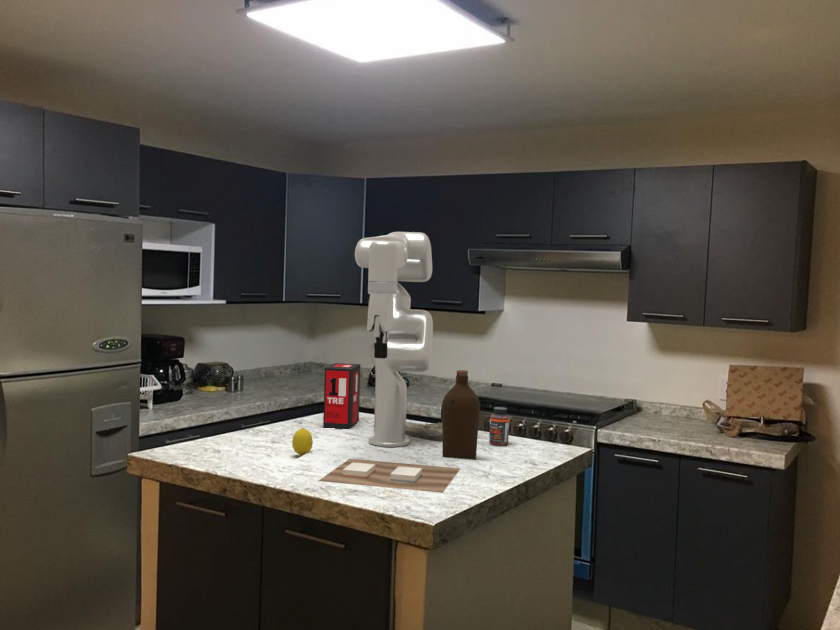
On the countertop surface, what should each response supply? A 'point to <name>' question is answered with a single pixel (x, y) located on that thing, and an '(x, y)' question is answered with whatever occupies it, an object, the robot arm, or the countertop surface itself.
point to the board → (428, 481)
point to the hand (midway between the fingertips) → (380, 357)
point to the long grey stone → (425, 430)
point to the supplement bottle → (499, 427)
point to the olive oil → (460, 420)
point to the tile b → (406, 474)
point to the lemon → (302, 441)
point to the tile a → (359, 470)
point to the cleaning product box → (341, 395)
